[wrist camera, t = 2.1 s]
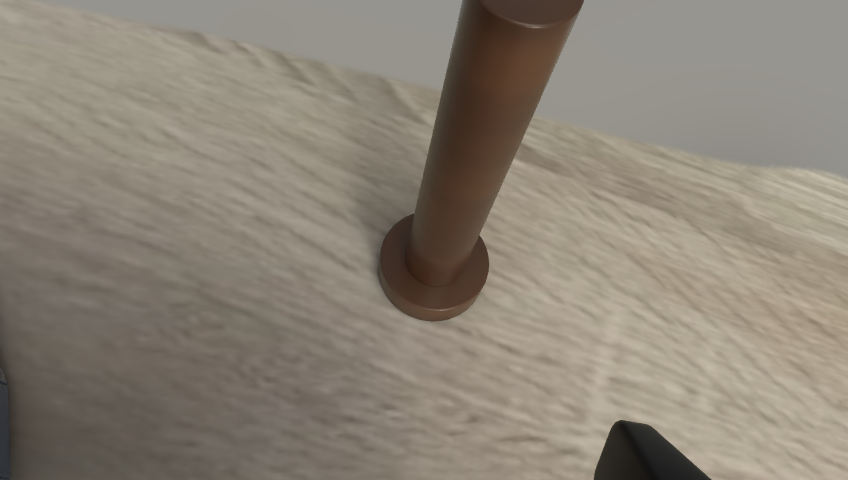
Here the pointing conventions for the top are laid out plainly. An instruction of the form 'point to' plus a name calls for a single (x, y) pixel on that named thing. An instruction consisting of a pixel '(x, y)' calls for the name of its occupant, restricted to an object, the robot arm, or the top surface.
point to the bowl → (4, 430)
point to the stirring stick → (472, 151)
